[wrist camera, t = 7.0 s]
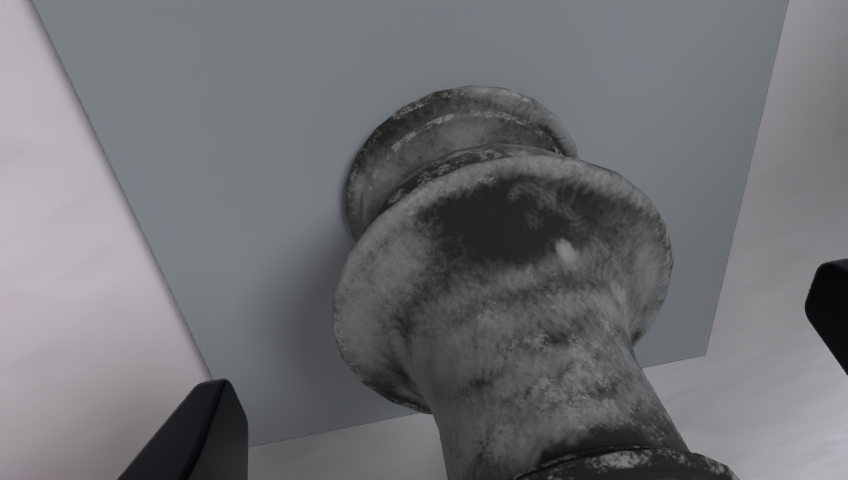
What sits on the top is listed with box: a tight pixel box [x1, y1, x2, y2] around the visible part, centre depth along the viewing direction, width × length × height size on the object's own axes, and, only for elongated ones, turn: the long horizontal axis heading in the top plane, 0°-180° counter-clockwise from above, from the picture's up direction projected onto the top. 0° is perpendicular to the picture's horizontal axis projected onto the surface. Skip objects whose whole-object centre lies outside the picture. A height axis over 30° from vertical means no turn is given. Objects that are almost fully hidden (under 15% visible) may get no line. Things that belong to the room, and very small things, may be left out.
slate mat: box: [32, 0, 789, 447], centre depth 12 cm, size 14×14×1 cm
